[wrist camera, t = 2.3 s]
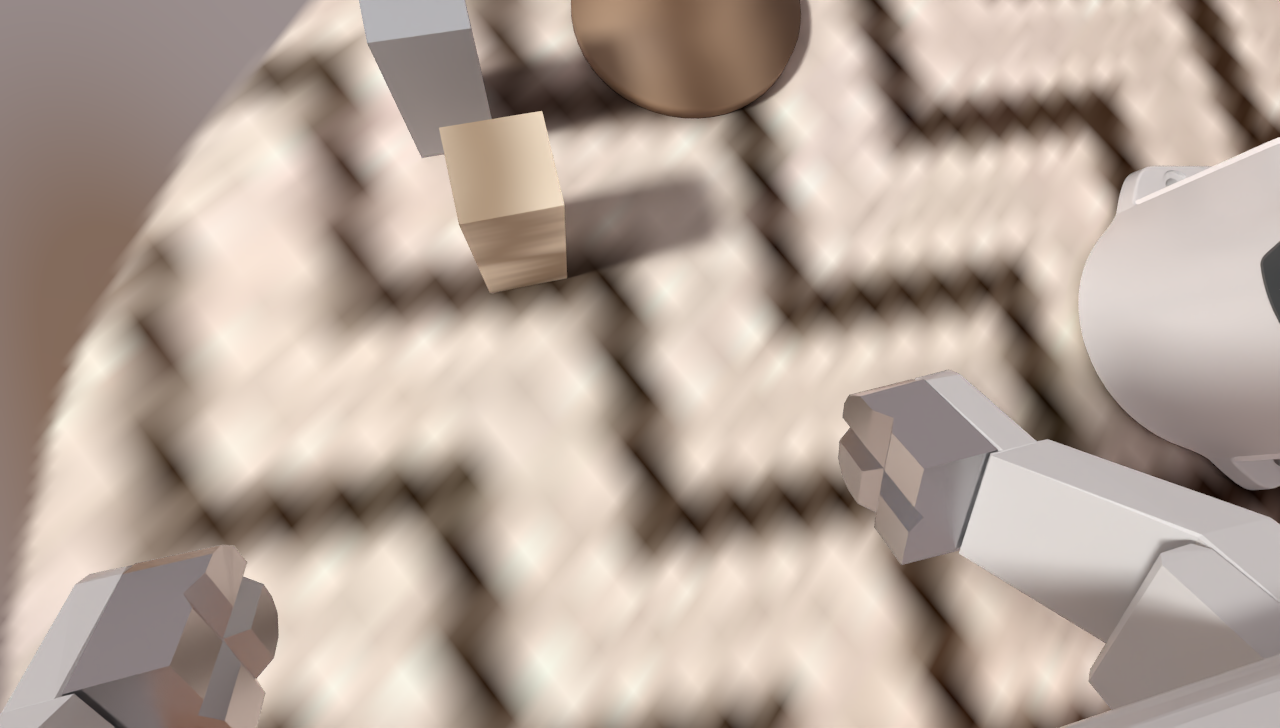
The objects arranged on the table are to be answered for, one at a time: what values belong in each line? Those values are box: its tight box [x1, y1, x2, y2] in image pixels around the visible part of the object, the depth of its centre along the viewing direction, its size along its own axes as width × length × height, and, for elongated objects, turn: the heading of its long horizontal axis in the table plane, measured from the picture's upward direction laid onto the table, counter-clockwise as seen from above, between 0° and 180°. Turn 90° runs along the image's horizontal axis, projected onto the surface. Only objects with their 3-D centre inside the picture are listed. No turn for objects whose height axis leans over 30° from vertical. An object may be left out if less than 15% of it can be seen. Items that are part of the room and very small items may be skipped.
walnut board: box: [571, 0, 801, 118], centre depth 36 cm, size 13×13×1 cm
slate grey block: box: [359, 0, 492, 158], centre depth 30 cm, size 4×4×9 cm
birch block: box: [439, 111, 567, 294], centre depth 29 cm, size 4×4×9 cm
